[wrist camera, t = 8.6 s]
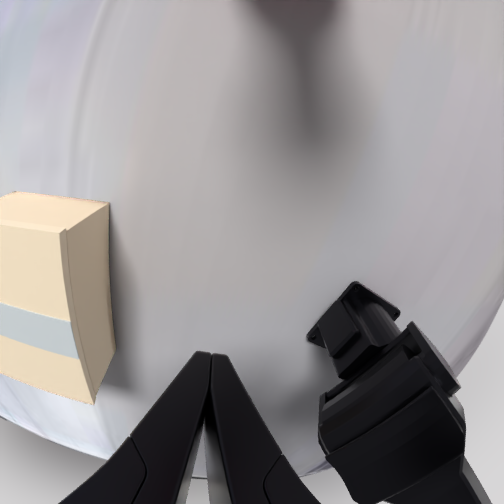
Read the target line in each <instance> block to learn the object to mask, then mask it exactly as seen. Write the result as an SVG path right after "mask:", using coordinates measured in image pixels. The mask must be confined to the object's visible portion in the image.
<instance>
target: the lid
mask: <svg viewBox="0 0 504 504" xmlns="http://www.w3.org/2000/svg"><path fill="white" fill-rule="evenodd" d="M0 373H1V374H4V375H6V376H8V377H11V378H13V379H15V380H18V381H20V382H23V383H25V384H28V385H31V386H33V387H36V388H39V389H42V390H44V391H47V392H50V393H53V394H56V395H60V396H63V397H66V398H69V399H73V400H76V401H80V402H84V403H87V404H91V405H94V404H95V400H96V395H95V392H94V389H93V386H92V383H91V379H90V376H89V372H88V368H87V365H86V361H85V357H84V353H83V349H82V344H81V340H80V335H79V331H78V326H77V320H76V315H75V309H74V303H73V297H72V290H71V282H70V274H69V264H68V253H67V238H66V228H64V227H56V226H49V225H41V224H34V223H26V222H19V221H12V220H4V219H0Z"/></svg>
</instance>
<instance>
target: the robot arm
mask: <svg viewBox="0 0 504 504" xmlns="http://www.w3.org/2000/svg"><path fill="white" fill-rule="evenodd" d="M355 287H357V288H356V289H354V288H355ZM394 313H395V314H394ZM399 315H400V310H399V309H398V308H397V307H395V306H394V305H392V304H391V303H389V302H388V301H386V300H385V299H383V298H382V297H381V296H379V295H378V294H376V293H374V292H373V291H371V290H370V289H368V288H367V287H365V286H364V285H362V284H361V283H359V282H357V281H354V282H352V283H351V284H350V285H349V286H348V288H347V289H346V290H345V291H344V292H343V294H342V295H341V296H340V297H339V298H338V300H337V301H335V302H334V304H333V305H332V306H331V307H330V308H329V309H328V311H327V312H326V313H325V314H324V315H323V316H322V317H321V319H320V320H319V321H318V323H317V324H316V325H315V326H314V327H313V328H312V329H311V330H310V331H309V333H308V334H307V338H308V340H309V341H310V342H312V343H314V344H316V345H319V346H321V347H323V348H325V349H327V351H328V354H329V356H330V357H331V359H332V361H333V364H334V367H335V369H336V372H337V375H338V377H339V378H341V379H342V382H341V383H340V384H338V385H337V386H336V387H334V388H333V389H331V390H330V391H329V392H325V393H324V394H322V395H321V396H320V404H319V423H318V439H319V444H320V446H321V448H322V450H323V452H324V453H325V455H326V456H325V458H326V460H327V461H328V462H329V463H330V464H331V465H332V466H333V467H334V468H335V469H336V471H337V472H338V474H339V475H340V476H341V478H342V479H343V481H344V483H345V485H346V487H347V489H348V491H349V493H350V495H351V497H352V499H353V500H354V501H355V502H357V503H358V504H377V503H379V502H381V501H384V502H387V503H390V504H492V503H491V501H490V499H489V497H488V496H487V494H486V492H485V490H484V488H483V487H482V485H481V483H480V481H479V480H478V478H477V476H476V475H475V473H474V471H473V470H472V468H471V467H470V465H469V463H468V462H467V460H466V458H465V456H464V451H465V437H466V423H465V416H464V409H463V407H462V405H461V404H460V402H459V401H458V399H457V397H456V396H455V393H456V392H457V391H458V390H459V389H460V388H461V386H460V384H459V382H458V380H457V379H456V377H455V375H454V373H453V371H452V370H451V368H450V366H449V365H448V363H447V362H446V360H445V359H444V358H443V356H442V355H441V354H440V352H439V351H438V350H437V349H436V347H435V346H434V345H433V344H432V342H431V341H430V340H429V339H428V338H427V337H426V336H425V335H424V333H423V332H422V331H421V330H420V329H419V328H418V327H417V326H416V325H415V323H414V322H413V321H411V322H410V323H409V324H408V325H407V328H406V329H405V330H404V331H403V332H402V333H401V331H400V330H399V328H398V327H397V325H396V324H395V323H394V321H395V320H396V319H397V318H398V317H399ZM314 335H315V336H314ZM312 336H314V337H312ZM203 424H204V440H205V454H206V467H207V479H208V490H209V500H210V504H321V503H320V502H319V501H318V500H317V499H316V498H315V497H314V496H313V494H312V493H311V492H310V491H309V490H308V488H307V487H306V486H305V485H304V484H303V483H302V481H301V480H300V479H299V477H298V475H297V474H296V473H295V471H294V470H293V468H292V467H291V465H290V464H289V462H288V461H287V459H286V457H285V456H284V455H283V454H282V451H281V450H280V448H279V446H278V445H277V443H276V441H275V440H274V438H273V436H272V435H271V433H270V431H269V430H268V428H267V426H266V425H265V423H264V421H263V419H262V418H261V416H260V414H259V412H258V411H257V409H256V407H255V405H254V404H253V402H252V400H251V398H250V396H249V395H248V393H247V391H246V389H245V387H244V386H243V384H242V382H241V380H240V378H239V376H238V374H237V372H236V371H235V369H234V367H233V365H232V363H231V361H230V359H229V357H228V356H227V355H224V354H217V353H213V354H212V356H211V353H209V352H203V351H196V352H195V353H194V354H193V356H192V357H191V358H190V359H189V361H188V362H187V363H186V365H185V366H184V367H183V368H182V370H181V371H180V372H179V374H178V375H177V376H176V377H175V379H174V380H173V381H172V382H171V384H170V385H169V386H168V388H167V389H166V390H165V391H164V393H163V394H162V395H161V396H160V398H159V399H158V400H157V401H156V403H155V404H154V405H153V406H152V408H151V409H150V410H149V411H148V413H147V414H146V415H145V416H144V418H143V419H142V420H141V421H140V423H139V424H138V425H137V426H136V428H135V429H134V430H133V431H132V433H131V434H130V437H127V439H126V440H125V441H124V442H123V443H122V445H121V446H120V447H119V448H118V449H117V451H116V452H115V453H114V454H113V455H112V456H111V457H110V458H109V460H108V461H107V462H106V463H105V464H104V465H103V466H101V467H100V468H99V470H97V472H95V473H94V474H93V475H92V476H91V477H90V478H88V479H87V480H86V481H85V482H84V483H83V484H81V485H80V486H79V487H78V488H77V489H76V490H74V491H73V492H72V493H71V494H69V495H68V496H67V497H66V498H65V499H63V500H62V501H61V502H60V503H58V504H185V503H186V499H187V495H188V490H189V486H190V481H191V477H192V473H193V469H194V464H195V460H196V456H197V451H198V447H199V443H200V439H201V434H202V429H203ZM281 454H282V455H281Z"/></svg>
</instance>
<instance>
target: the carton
mask: <svg viewBox="0 0 504 504" xmlns="http://www.w3.org/2000/svg"><path fill="white" fill-rule="evenodd" d="M0 219H4V220H12V221H19V222H26V223H34V224H41V225H49V226H56V227H64V228H66V238H67V253H68V264H69V274H70V282H71V290H72V297H73V303H74V309H75V315H76V320H77V326H78V331H79V335H80V340H81V344H82V349H83V353H84V357H85V361H86V365H87V368H88V372H89V376H90V379H91V383H92V386H93V389H94V392H95V395H97V392H98V390H99V387H100V385H101V383H102V380H103V378H104V376H105V373H106V371H107V369H108V366H109V364H110V362H111V360H112V358H113V355H114V353H115V351H116V344H115V336H114V327H113V318H112V307H111V293H110V276H109V202H101V201H93V200H86V199H78V198H70V197H61V196H53V195H44V194H35V193H26V192H16V191H15V192H12V193H10V194H7V195H5V196H3V197H0Z"/></svg>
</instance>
